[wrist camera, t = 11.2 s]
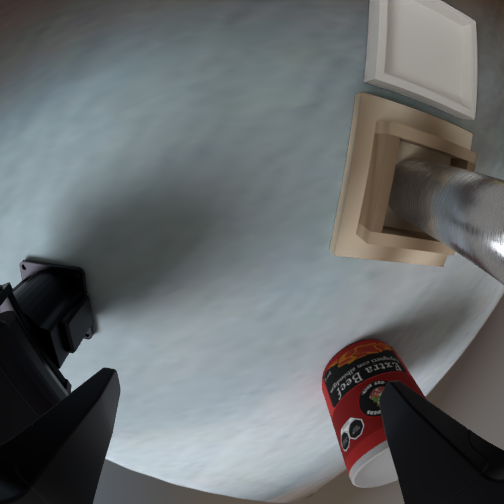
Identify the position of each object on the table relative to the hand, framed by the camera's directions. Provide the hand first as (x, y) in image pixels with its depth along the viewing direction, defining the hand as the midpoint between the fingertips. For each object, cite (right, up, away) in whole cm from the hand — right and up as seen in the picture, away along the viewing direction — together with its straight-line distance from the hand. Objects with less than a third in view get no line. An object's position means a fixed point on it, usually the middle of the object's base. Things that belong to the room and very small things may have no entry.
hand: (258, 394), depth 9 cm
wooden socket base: (+11, +9, +11) cm, 18 cm away
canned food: (+10, -7, +17) cm, 21 cm away
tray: (+12, +19, +7) cm, 24 cm away
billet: (+11, +9, +10) cm, 17 cm away
